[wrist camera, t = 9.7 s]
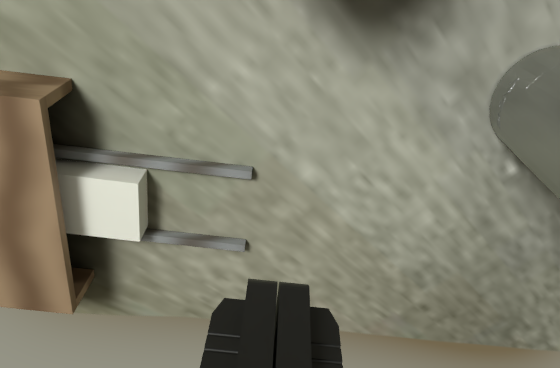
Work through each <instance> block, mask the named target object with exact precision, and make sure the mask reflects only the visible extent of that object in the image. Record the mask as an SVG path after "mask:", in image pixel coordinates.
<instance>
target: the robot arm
mask: <svg viewBox="0 0 560 368" xmlns="http://www.w3.org/2000/svg"><path fill="white" fill-rule="evenodd" d="M490 120H491V125H492V128H493V130H494V131H495V133H496V135H497V136H498V137H499V138H500V139H501V140H502V141H503V142H504V143H505V144H506V146H507V147H508V148H509V149H510V150H511V151H512V152H513V153H514V154H515V155H516V156H517V157H518V158H519V159H520V160H521V161H522V162H523V163H524V164H525V165H526V166H527V167H528V168H529V169H530V170H531V171H532V172H533V173H534V174H535V175H536V176H537V177H538V178H539V179H540V180H541V181H542V182H543V183H544V184H545V185H546V186H547V187H548V188H549V189H550V190H551V191H552V192H553V193H554V194H555V195H556V196H557V197H558V198H559V199H560V46H552V47H548V48H544V49H541V50H538V51H536V52H534V53H532V54H530V55H527V56H526V57H524V58H523V59H521V60H520V61H519V62H517V63H516V64H515V65H514V66H513V67H512V68H510V69H509V70H508V71H507V72H506V73H505V75H504V76H503V78H502V79H501V80H500V82H499V83H498V85H497V87H496V89H495V91H494V93H493V96H492V100H491V104H490ZM276 299H277V303H276ZM340 346H341V345H340V335H339V326H338V324H337V322H336V321H335V319H334V317H333V316H332V314H331V312H330V311H329V309H327V308H317V307H310V296H309V285H305V284H296V283H286V282H280V283H279V289H278V296H277V282H275V281H266V280H256V279H248V285H247V292H246V299H245V300H239V299H229V298H224V299H223V301H222V302H221V303H220V304H219V305H218V307H217V308H216V309H215V310H214V312H213V313H212V317H211V321H210V325H209V330H208V336H207V339H206V343H205V348H204V353H203V357H202V361H201V365H200V368H343V366H342V354H341V349H340Z"/></svg>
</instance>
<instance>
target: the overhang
mask: <svg viewBox="0 0 560 368" xmlns="http://www.w3.org/2000/svg"><path fill="white" fill-rule="evenodd" d="M72 90H73V89H72V80H71V79H69V78H61V77H52V76H44V75H35V74H27V73H19V72H10V71H2V70H0V306H1V307H7V308H17V309H26V310H37V311H46V312H56V313H66V314H73V313H74V311H75V310H76V308H77V306H78V304H79V303H80V301H81V299H82V297H83V296H84V294H85V292H86V291H87V289H88V287H89V285H90V284H91V282H92V280H93V278H94V270H93V269H83V268H74V267H71V263H70V256H69V249H68V242H67V236H66V229H65V222H64V215H63V209H62V202H61V195H60V189H59V182H58V175H57V168H56V162H55V157H57V158H66V159H75V160H83V161H92V162H101V163H110V164H119V165H128V166H136V167H145V168H154V169H163V170H172V171H181V172H189V173H198V174H207V175H216V176H225V177H234V178H242V179H251V177H252V169H253V167H250V166H241V165H232V164H224V163H215V162H206V161H197V160H189V159H180V158H171V157H162V156H154V155H145V154H136V153H127V152H118V151H110V150H101V149H92V148H83V147H75V146H66V145H57V144H53V141H52V135H51V128H50V121H49V114H48V107H50V106H51V105H53V104H54V103H55V102H57V101H58V100H60V99H61V98H62V97H64V96H65V95H67V94H68V93H69V92H71V91H72ZM140 241H150V242H159V243H168V244H177V245H187V246H196V247H205V248H214V249H224V250H233V251H242V252H244V251H245V243H246V239H237V238H228V237H219V236H210V235H200V234H191V233H182V232H173V231H164V230H154V229H146V230H145V232H144V234H143V236H142V238H141V240H140Z"/></svg>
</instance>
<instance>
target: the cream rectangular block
mask: <svg viewBox="0 0 560 368" xmlns="http://www.w3.org/2000/svg"><path fill="white" fill-rule="evenodd" d="M55 162H56V168H57V175H58V182H59V189H60V195H61V202H62V209H63V215H64V222H65V229H66V233H69V234H78V235H86V236H95V237H104V238H112V239H121V240H129V241H138V242H140V240H141V238H142V236H143V234H144V232H145V230H146V228H147V226H148V196H147V169H140V168H132V167H124V166H116V165H108V164H100V163H92V162H84V161H76V160H68V159H60V158H55Z"/></svg>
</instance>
